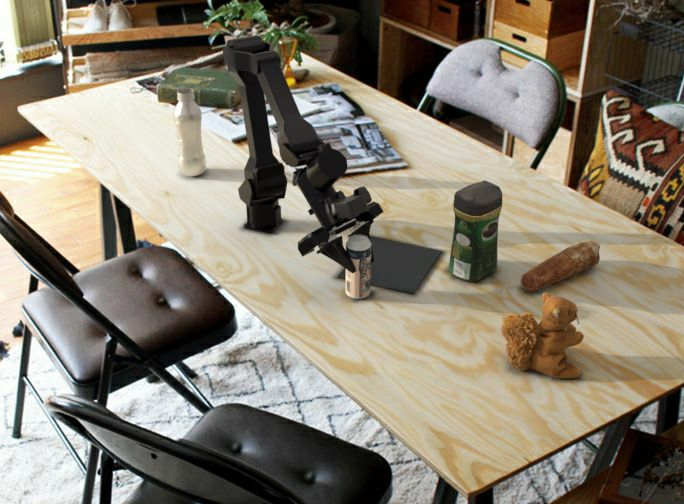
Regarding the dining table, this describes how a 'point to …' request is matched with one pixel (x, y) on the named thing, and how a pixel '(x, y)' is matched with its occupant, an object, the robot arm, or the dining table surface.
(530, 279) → the cassava root
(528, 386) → the dining table surface
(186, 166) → the plastic bottle
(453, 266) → the coffee jar
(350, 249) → the beer can
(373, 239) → the mat
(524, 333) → the stuffed squirrel
